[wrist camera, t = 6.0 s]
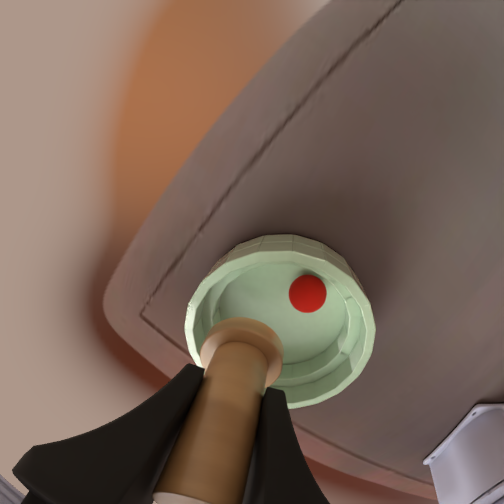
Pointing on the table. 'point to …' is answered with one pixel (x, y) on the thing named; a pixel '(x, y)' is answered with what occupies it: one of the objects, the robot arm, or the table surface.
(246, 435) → the pestle
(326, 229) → the table surface
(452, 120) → the table surface
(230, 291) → the bowl
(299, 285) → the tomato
